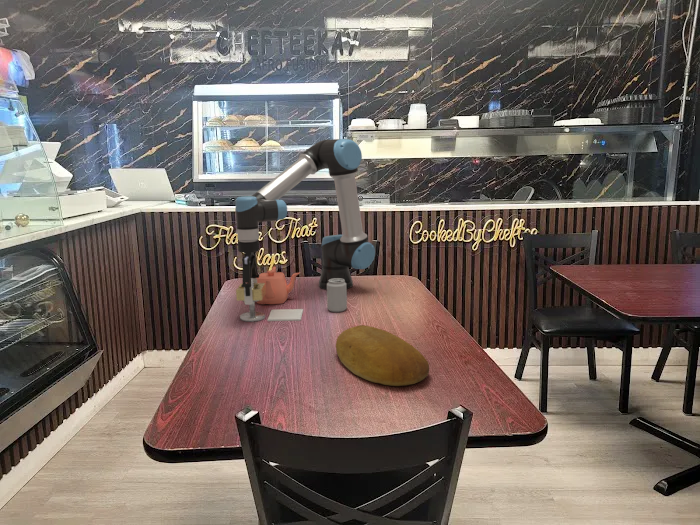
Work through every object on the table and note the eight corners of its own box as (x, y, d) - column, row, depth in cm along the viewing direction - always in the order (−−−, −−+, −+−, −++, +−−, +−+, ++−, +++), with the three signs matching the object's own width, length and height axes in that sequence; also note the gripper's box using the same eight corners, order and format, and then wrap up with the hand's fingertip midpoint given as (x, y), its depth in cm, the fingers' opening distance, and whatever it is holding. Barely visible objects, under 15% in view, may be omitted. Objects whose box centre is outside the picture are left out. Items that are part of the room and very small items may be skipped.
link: (265, 293, 196) (265, 283, 196) (261, 300, 188) (261, 289, 187) (241, 293, 196) (240, 283, 195) (236, 300, 187) (236, 289, 187)
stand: (266, 313, 198) (264, 275, 195) (263, 321, 189) (261, 281, 186) (242, 314, 198) (240, 275, 195) (238, 322, 189) (235, 281, 186)
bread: (366, 341, 169) (366, 311, 167) (443, 379, 141) (444, 344, 138) (317, 354, 159) (316, 323, 157) (389, 398, 131) (389, 360, 128)
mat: (303, 310, 202) (303, 309, 201) (300, 320, 190) (300, 319, 190) (271, 311, 201) (271, 309, 201) (267, 321, 190) (267, 319, 190)
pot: (303, 300, 216) (302, 270, 213) (268, 309, 204) (267, 278, 201) (275, 292, 229) (274, 264, 226) (241, 300, 217) (240, 270, 214)
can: (344, 313, 197) (344, 282, 195) (325, 312, 199) (324, 281, 196) (348, 307, 205) (348, 277, 202) (329, 306, 206) (329, 277, 203)
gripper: (243, 235, 199) (247, 291, 203) (230, 246, 176) (234, 309, 181) (263, 234, 199) (266, 291, 204) (253, 246, 176) (256, 309, 181)
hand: (251, 299), depth 192 cm, fingers open, 11 cm apart
